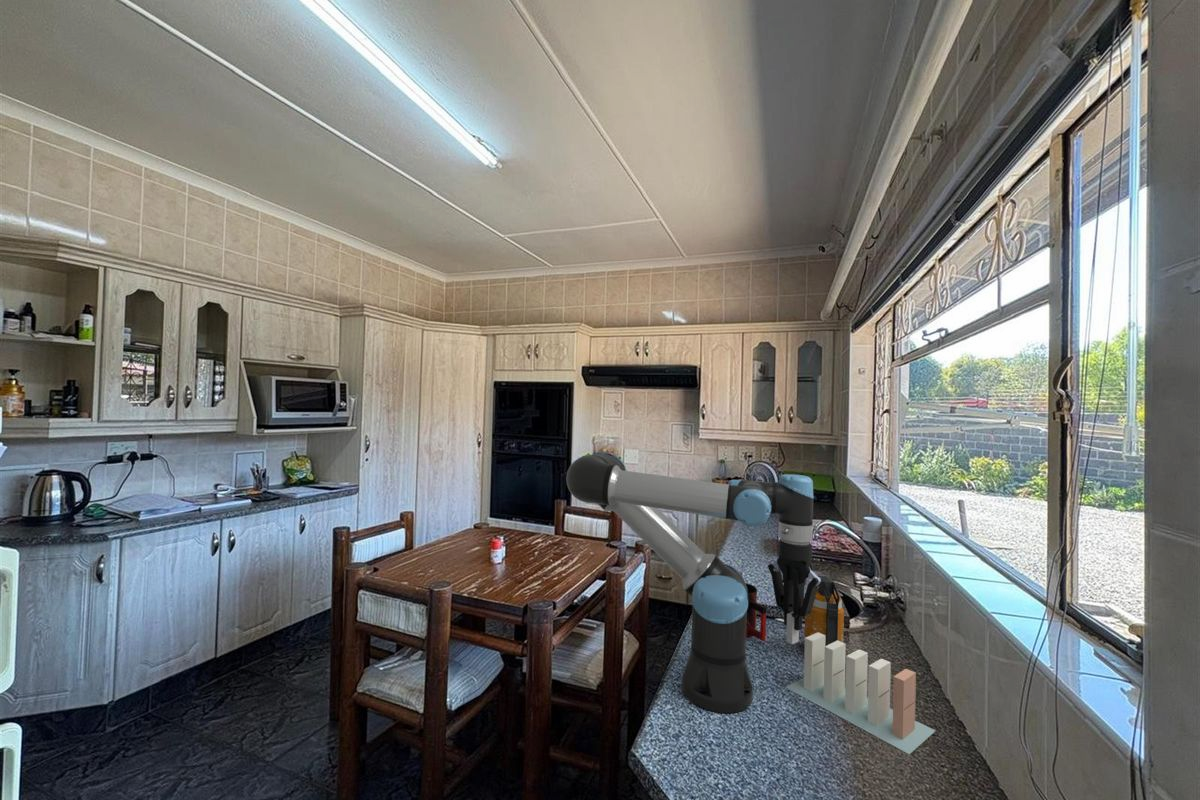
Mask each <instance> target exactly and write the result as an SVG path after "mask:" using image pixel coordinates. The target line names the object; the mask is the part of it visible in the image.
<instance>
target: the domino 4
mask: <svg viewBox="0 0 1200 800" xmlns="http://www.w3.org/2000/svg"><path fill="white" fill-rule="evenodd" d="M891 665H892V663H891V661H889V660H886V659H884V658H879V659H878V660H876V661H874V662H872V663H871V664H869V665H868V681H867V697H868V722H870V723H872V724H874V725H876V726H878V725H880V724H881V723H882V722H884V721H885V720H886V719H888V718H889V717H890V709H891V706H890V705H891V670H892V669H891Z"/></svg>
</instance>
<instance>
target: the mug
mask: <svg viewBox="0 0 1200 800" xmlns="http://www.w3.org/2000/svg"><path fill="white" fill-rule="evenodd" d="M745 583H746V582H745ZM746 586H747V590H748V608H747V625H746V639H747V638H753V637H755V638H756V639H758V640H759V641H762V642H766V639H767V637H766V636H767V632H766V631H767V607H766V606H764V605H763V604H760V603H758V589H757V587H756V586H755V585H752V584H750V583H746ZM757 612H759V613H760V625H759V627H760V628H759V629H760V631H759V630H757Z"/></svg>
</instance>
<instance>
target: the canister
mask: <svg viewBox="0 0 1200 800" xmlns="http://www.w3.org/2000/svg"><path fill="white" fill-rule="evenodd" d="M817 576H818V577H822V579H823V581H822V582H821V583H820V585H819V586H818V589H817V592H816V596H815V600H814V603H813V607H812V611H811V614H809V615H807V616H804V647H803V648H804V650H803V651H804V652H805V638H806V637H808V636H811V635H813V634H815V633H817V632H818V633H821V634H823V635H825V646H827V645H829V644H831V643H833V642H835V641H837V640H838V641H840V642H843V643H844V630H845V628H844V627H845V626H844V624H845V623H844V620H845V609H844V607H843V605H842V604H843V603H842V602H843V599H842V598H841V597H843V596H844V595H843V594H842V593H841V592H840V591H838V589H837V587H836V586H837V585H836V583H835V582H834V581H832V580H831V579H830V578H828V576H827V575H817Z"/></svg>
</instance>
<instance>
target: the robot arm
mask: <svg viewBox="0 0 1200 800" xmlns="http://www.w3.org/2000/svg"><path fill="white" fill-rule="evenodd" d="M565 478H566V480H565V481H566V486H567V489H568V491H569V492H570V493H571V495H572V496H573V497H574V498H575V499H577V500H578V501H580V502H583V503H588V504H596V505H599V507H600V508H602V509H603V511H604V512H614V514H616V515H617V516H618V518H620V519H621V520H622V521H623V523H625V524H626V525H627V526H628V527H629V528H630V530H632V531H633V532H634V533H635V534H636V535H637V536H638V538H640V539H641V540H642V541H643V542H644V543H645V544H646V545H647V546H648V547H649V548H650V549H651V550H652V551H653V552H654V553H655V554H656V555H657V556H658V557H659V558H660V559H662V561H664V563H665V564H666V565H667V566H668V567H669V568H670V569H671V570H672V571H673V572H674V573H675V574H676V575H677V576H678V577H679V578H680V579H682V588H683V590H684V591H685V593H687V594H688V595H689V596H690V598H691V604H692V610H691V614H692V615H691V640H690V642H691V643H690V654H689V656H688V658H687V661H686V664H685V667H684V669H683V672H682V675H681V689H682V690H681V691H682V693H683V694H684V696H685V697H686V698H687V699H688V700H689V701H690V702H691V703H692V704H694V705H696V706H699V707H700V708H702V709H705V710H708V711H711V712H715V713H721V714H722V713H723V714H731V713H733V714H734V713H739V712H743V711H746V710H747V709H748V708H749V707H750V706H751V705H752V704H753V701H754V685H753V682H752V678H751V675H750V672H749V668H748V665H747V662H746V653H747V638H746V625H747V608H748V590H747V586H746V581H745V578H744V577H743V575H742V574H741V572H740V571H739V570H738V569H736V567H734V566H732V565H729V564H727V563H724V561H722V560H721V559H720V558H719V557H718V556H717V555H716V554H714V553H705V552H704V551H703V550H702V549H701V548H700V547H699V546H698V545H697V544H695V542H694V541H693V540H691V539H690V537H689V536H687V535H686V534H685V533H684V532H683V531H682V530H681V529H680V528H679V527H678V526H676V524H675V523H674V522H672V521H671V520H670V519H669V517H668V516H666V515H665V514H664V513H663V512H662V511H661V510H667V511H673V512H681V513H685V514H686V513H687V514H693V515H700V516H705V517H706V516H707V517H712V518H713V517H714V518H719V519H727V520H732V521H738V522H740V523H741V524H743V525H744V526H748V527H750V528H751V527H753V528H755V527H759V526H761V525H763V524H765V523H766V522H767V521H768V519H769V518H770V515H771V514H772V515H778V531H777V532H778V533H777V534H778V535H777V536H778V538H779V539H778V541H777V555H778V557H777V559H776V562H773V563H768V565H767V568H768V571H769V573H770V576H771V580H772V587H773V593H774V598H775V603H776V607H777V608H780V609H782V610H783V624H784V626H785V627H786V636H785V637H786V641H785V642H786V643H788V644H790V645H794V644H796V643H798V642H800V640H799V637H800V635H799V634H800V630H802V628H803V618H805V616H807V615H809V614H811V611H812V607H813V603H814V600H815V596H816V592H817V589H818V587H819V585H820V583H821V582H822V581H823V579H822V577H818V576H819V575H816V573H815V572H813V571H814V570H813V566H812V559H813V558H812V557H813V545H812V542H813V533H814V532H813V530H814V527H813V525H814V523H813V518H814V499H815V496H814V482H813V479H812V478H811V477H810V476H808V475H807V476H806V475H802V474H794V473H793V474H792V473H791V474H786V473H785V474H781V475H780V476H779V480H778V481H772V482H771V481H762V480H761V481H759V480H749V479H748V480H747V479H731V480H729V481H728V483H727V484H726V483H720V482H711V481H704V480H696V479H689V478H683V477H681V478H680V477H673V476H669V475H668V476H666V475H660V474H652V473H643V472H637V471H632V470H631V471H629V470H627V468H626V466H625V464H624V462H623V461H622V460H621V459H620V457H618V456H617V455H615V454H613V453H610V452H607V451H606V452H605V451H601V452H600V451H599V452H595V453H592V454H589V455H584V456H580V457H578V458H576V459H575V460H574V461H573V462H572V463H571V464H570V465H569V467H568V469H567V472H566V476H565ZM807 579H808V581H807ZM806 581H807V582H808V584H807V587H806V591H805V585H806Z"/></svg>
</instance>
